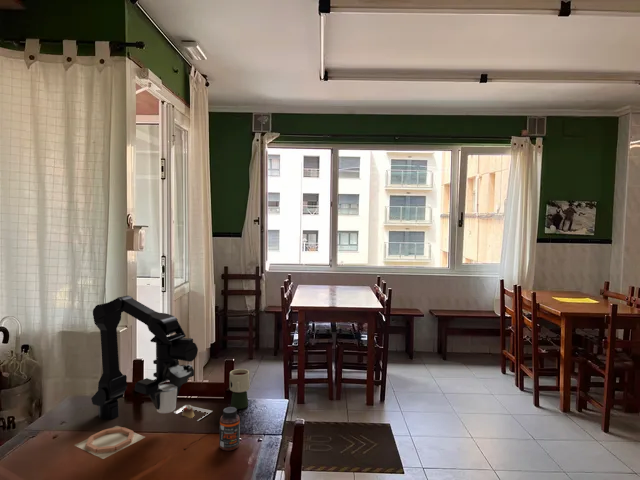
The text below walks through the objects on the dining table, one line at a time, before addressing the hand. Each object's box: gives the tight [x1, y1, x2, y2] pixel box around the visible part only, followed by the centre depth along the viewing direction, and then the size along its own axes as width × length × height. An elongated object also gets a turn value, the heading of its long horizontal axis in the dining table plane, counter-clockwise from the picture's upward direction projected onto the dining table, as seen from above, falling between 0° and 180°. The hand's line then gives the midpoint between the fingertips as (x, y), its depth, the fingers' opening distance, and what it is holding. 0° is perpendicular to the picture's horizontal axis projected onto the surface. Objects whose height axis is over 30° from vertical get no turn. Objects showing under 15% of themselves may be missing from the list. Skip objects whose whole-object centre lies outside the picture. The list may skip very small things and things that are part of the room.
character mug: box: [229, 368, 250, 410], centre depth 156 cm, size 11×7×13 cm, turn 4°
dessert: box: [172, 404, 213, 422], centre depth 148 cm, size 12×12×5 cm
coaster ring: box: [86, 426, 135, 453], centre depth 129 cm, size 12×12×1 cm
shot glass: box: [156, 383, 178, 414], centre depth 135 cm, size 7×7×7 cm
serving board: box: [73, 425, 146, 460], centre depth 129 cm, size 14×14×1 cm
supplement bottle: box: [218, 406, 241, 452], centre depth 129 cm, size 6×6×11 cm
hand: (166, 405), depth 136 cm, fingers closed on shot glass, 6 cm apart
